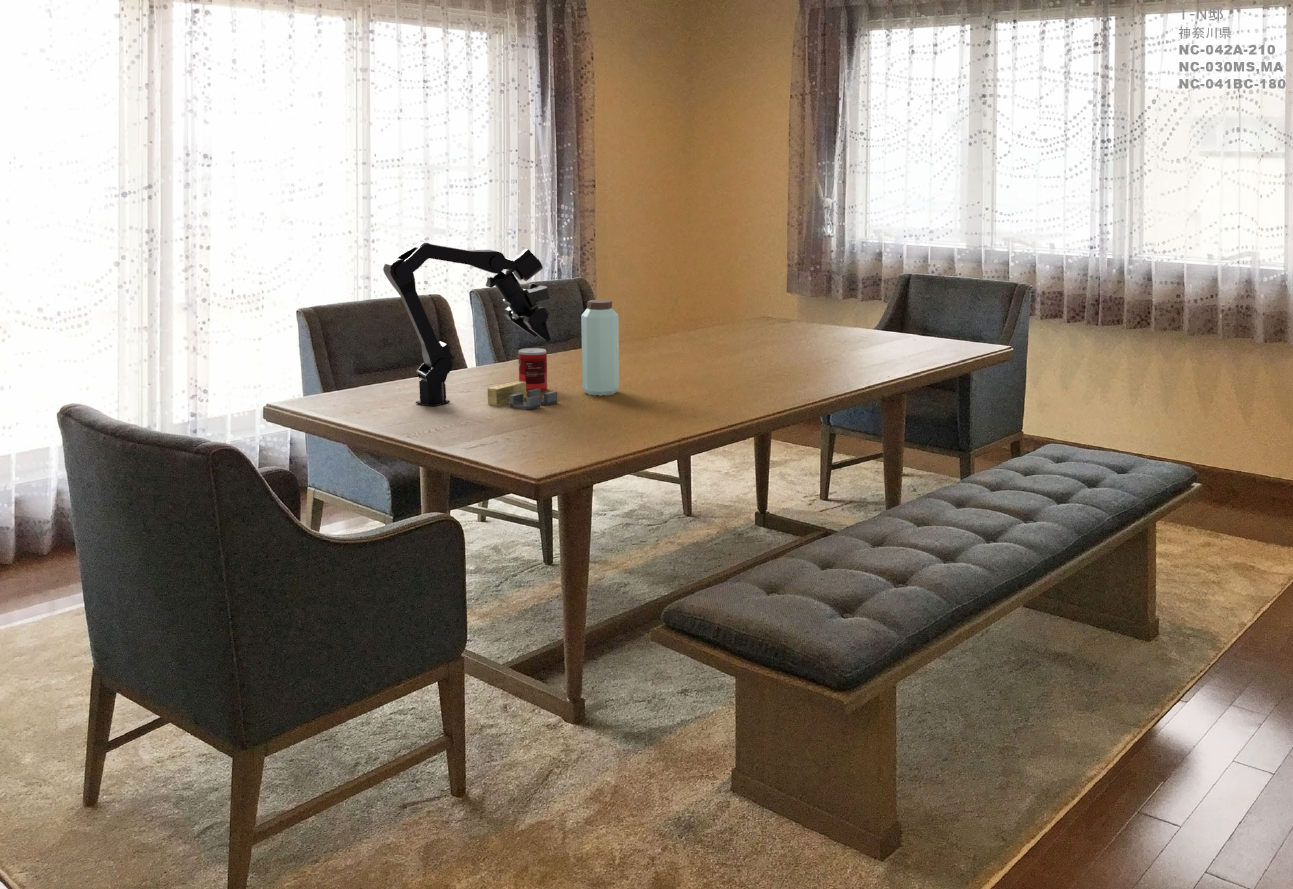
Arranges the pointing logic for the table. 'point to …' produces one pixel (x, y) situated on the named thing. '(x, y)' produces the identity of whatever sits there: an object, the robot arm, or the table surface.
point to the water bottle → (600, 348)
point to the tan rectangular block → (505, 392)
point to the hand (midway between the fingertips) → (542, 338)
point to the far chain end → (548, 397)
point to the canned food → (533, 368)
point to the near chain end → (530, 403)
